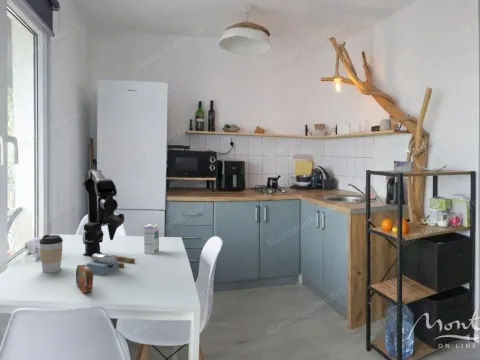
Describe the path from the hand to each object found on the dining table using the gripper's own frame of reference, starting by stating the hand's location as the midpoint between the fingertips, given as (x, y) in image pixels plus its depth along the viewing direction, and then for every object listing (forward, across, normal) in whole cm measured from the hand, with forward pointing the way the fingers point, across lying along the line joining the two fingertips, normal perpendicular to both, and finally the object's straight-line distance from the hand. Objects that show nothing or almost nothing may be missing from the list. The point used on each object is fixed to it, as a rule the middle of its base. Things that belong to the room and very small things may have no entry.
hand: (104, 242), depth 153 cm
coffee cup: (+12, -12, +18) cm, 25 cm away
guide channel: (+12, +7, -2) cm, 13 cm away
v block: (+11, -4, -2) cm, 12 cm away
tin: (+11, -22, -10) cm, 27 cm away
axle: (+6, -4, -3) cm, 8 cm away
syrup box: (+12, +29, -5) cm, 32 cm away
